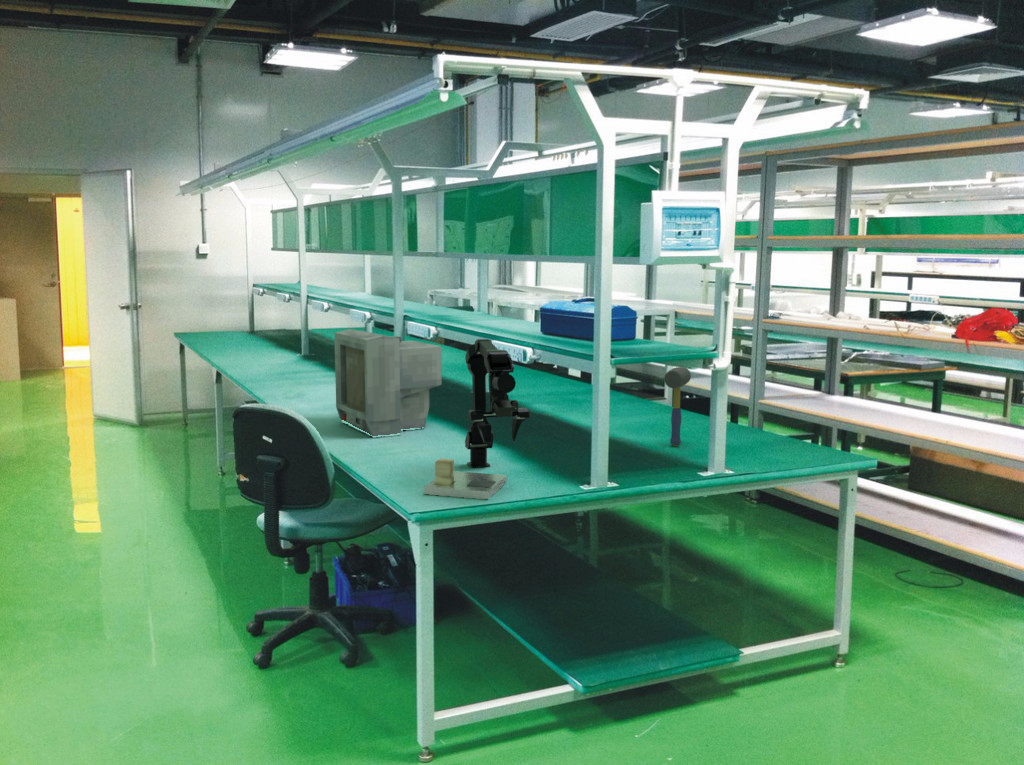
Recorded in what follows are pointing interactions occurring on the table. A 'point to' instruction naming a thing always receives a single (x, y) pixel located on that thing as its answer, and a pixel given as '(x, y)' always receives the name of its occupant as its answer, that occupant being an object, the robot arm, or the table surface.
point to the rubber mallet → (676, 399)
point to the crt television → (384, 381)
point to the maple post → (444, 472)
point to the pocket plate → (468, 485)
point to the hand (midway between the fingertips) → (499, 441)
